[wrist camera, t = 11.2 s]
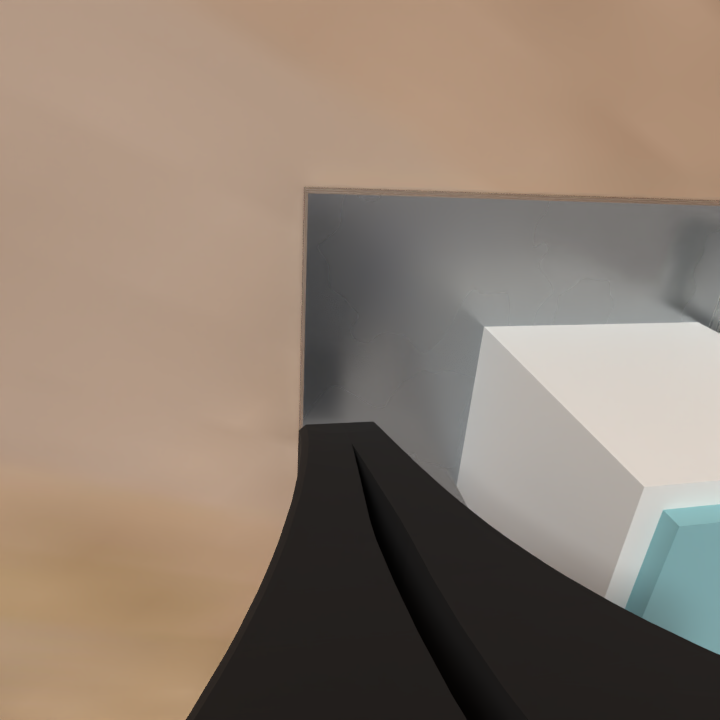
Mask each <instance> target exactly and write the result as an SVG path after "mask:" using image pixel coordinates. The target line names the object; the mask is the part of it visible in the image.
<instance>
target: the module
mask: <svg viewBox="0 0 720 720" xmlns="http://www.w3.org/2000/svg"><path fill="white" fill-rule="evenodd" d="M457 488H458V490H459V492H460V493H461V495H462V497H463V499H464V501H465V503H466V505H467V506H468V508H469V509H470V510H471V511H473V512H474V513H475V514H477V515H478V516H479V517H480V518H482V519H483V520H484V521H485V522H487V523H488V524H489V525H491V526H492V527H493V528H495V529H496V530H497V531H499V532H500V533H502V534H503V535H504V536H506V537H507V538H509V539H510V540H511V541H513V542H514V543H516V544H517V545H519V546H520V547H522V548H523V549H525V550H526V551H528V552H529V553H531V554H532V555H534V556H535V557H537V558H538V559H540V560H541V561H543V562H544V563H546V564H547V565H549V566H551V567H552V568H554V569H556V570H557V571H559V572H560V573H562V574H564V575H565V576H567V577H569V578H570V579H572V580H574V581H576V582H577V583H579V584H581V585H583V586H584V587H586V588H588V589H590V590H591V591H593V592H595V593H597V594H598V595H600V596H602V597H604V598H605V599H607V600H609V601H611V602H613V603H614V604H616V605H618V606H620V607H622V608H624V609H626V610H628V611H630V612H632V613H634V614H635V615H637V616H639V617H641V618H643V619H645V620H647V621H649V622H651V623H653V624H655V625H657V626H659V627H662V628H664V629H666V630H668V631H670V632H672V633H674V634H676V635H678V636H680V637H682V638H684V639H686V640H689V641H691V642H693V643H695V644H697V645H699V646H701V647H703V648H706V649H708V650H710V651H712V652H714V653H717V654H719V655H720V334H719V333H718V332H716V331H714V330H712V329H710V328H708V327H706V326H704V325H702V324H701V323H699V322H680V323H633V324H587V325H540V326H493V327H484V330H483V336H482V341H481V347H480V353H479V359H478V364H477V370H476V376H475V382H474V388H473V393H472V399H471V405H470V411H469V416H468V422H467V428H466V434H465V440H464V445H463V451H462V457H461V463H460V468H459V474H458V480H457Z"/></svg>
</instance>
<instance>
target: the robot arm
mask: <svg viewBox="0 0 720 720" xmlns="http://www.w3.org/2000/svg"><path fill="white" fill-rule="evenodd" d="M186 720H720V655H719V654H717V653H714V652H712V651H710V650H708V649H706V648H703V647H701V646H699V645H697V644H695V643H693V642H691V641H689V640H686V639H684V638H682V637H680V636H678V635H676V634H674V633H672V632H670V631H668V630H666V629H664V628H662V627H659V626H657V625H655V624H653V623H651V622H649V621H647V620H645V619H643V618H641V617H639V616H637V615H635V614H634V613H632V612H630V611H628V610H626V609H624V608H622V607H620V606H618V605H616V604H614V603H613V602H611V601H609V600H607V599H605V598H604V597H602V596H600V595H598V594H597V593H595V592H593V591H591V590H590V589H588V588H586V587H584V586H583V585H581V584H579V583H577V582H576V581H574V580H572V579H570V578H569V577H567V576H565V575H564V574H562V573H560V572H559V571H557V570H556V569H554V568H552V567H551V566H549V565H547V564H546V563H544V562H543V561H541V560H540V559H538V558H537V557H535V556H534V555H532V554H531V553H529V552H528V551H526V550H525V549H523V548H522V547H520V546H519V545H517V544H516V543H514V542H513V541H511V540H510V539H509V538H507V537H506V536H504V535H503V534H502V533H500V532H499V531H497V530H496V529H495V528H493V527H492V526H491V525H489V524H488V523H487V522H485V521H484V520H483V519H482V518H480V517H479V516H478V515H477V514H475V513H474V512H473V511H471V510H470V509H469V508H468V507H466V506H465V505H464V504H463V503H461V502H460V501H459V500H458V499H457V498H455V497H454V496H453V495H452V494H451V493H449V492H448V491H447V490H446V489H445V488H444V487H442V486H441V485H440V484H439V483H438V482H437V481H436V480H435V479H433V478H432V477H431V476H430V475H429V474H428V473H427V472H426V471H425V470H424V469H422V468H421V467H420V466H419V465H418V464H417V463H416V462H415V461H414V460H413V459H412V458H411V457H410V456H409V455H408V454H407V453H406V452H404V451H403V450H402V449H401V448H400V447H399V446H398V445H397V444H396V443H395V442H394V441H393V440H392V439H391V438H390V437H389V436H388V435H387V434H386V433H385V432H384V431H383V430H382V429H381V428H380V427H379V426H378V425H377V424H376V423H375V422H374V421H372V422H350V423H328V424H306V425H305V426H303V427H302V428H301V429H300V430H299V445H298V477H297V481H296V486H295V490H294V494H293V499H292V502H291V506H290V509H289V512H288V515H287V518H286V521H285V524H284V527H283V530H282V533H281V536H280V539H279V542H278V545H277V547H276V550H275V552H274V555H273V557H272V560H271V562H270V565H269V567H268V569H267V572H266V574H265V576H264V579H263V581H262V583H261V585H260V588H259V590H258V592H257V594H256V596H255V598H254V600H253V602H252V604H251V606H250V608H249V610H248V612H247V614H246V616H245V618H244V620H243V622H242V624H241V626H240V628H239V630H238V632H237V634H236V636H235V638H234V640H233V641H232V643H231V645H230V647H229V649H228V650H227V652H226V654H225V656H224V657H223V659H222V661H221V662H220V664H219V666H218V667H217V669H216V671H215V672H214V674H213V676H212V677H211V679H210V681H209V682H208V684H207V686H206V687H205V689H204V691H203V692H202V694H201V696H200V697H199V699H198V701H197V702H196V704H195V706H194V707H193V709H192V711H191V712H190V714H189V716H188V717H187V719H186Z"/></svg>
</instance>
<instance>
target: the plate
mask: <svg viewBox="0 0 720 720" xmlns="http://www.w3.org/2000/svg"><path fill="white" fill-rule="evenodd" d="M719 296H720V201H709V200H679V199H649V198H619V197H588V196H558V195H528V194H498V193H468V192H438V191H407V190H377V189H347V188H317V187H304V220H303V270H302V321H301V372H300V423H299V430H300V429H301V428H302V427H303V426H305V425H306V424H328V423H350V422H372V421H374V422H375V423H376V424H377V425H378V426H379V427H380V428H381V429H382V430H383V431H384V432H385V433H386V434H387V435H388V436H389V437H390V438H391V439H392V440H393V441H394V442H395V443H396V444H397V445H398V446H399V447H400V448H401V449H402V450H403V451H404V452H406V453H407V454H408V455H409V456H410V457H411V458H412V459H413V460H414V461H415V462H416V463H417V464H418V465H419V466H420V467H421V468H422V469H424V470H425V471H426V472H427V473H428V474H429V475H430V476H431V477H432V478H433V479H435V480H436V481H437V482H438V483H439V484H440V485H441V486H442V487H444V488H445V489H446V490H447V491H448V492H449V493H451V494H452V495H453V496H454V497H455V498H457V499H458V500H459V501H460V502H461V503H463V504H464V505H465V506H466V507H468V506H467V505H466V503H465V501H464V499H463V497H462V495H461V493H460V492H459V490H458V488H457V480H458V474H459V468H460V463H461V457H462V451H463V445H464V440H465V434H466V428H467V422H468V416H469V411H470V405H471V399H472V393H473V388H474V382H475V376H476V370H477V364H478V359H479V353H480V347H481V341H482V336H483V330H484V327H493V326H540V325H587V324H633V323H680V322H699V323H701V324H702V325H704V326H706V327H708V326H709V323H710V321H711V318H712V315H713V313H714V310H715V307H716V304H717V302H718V299H719Z"/></svg>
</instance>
